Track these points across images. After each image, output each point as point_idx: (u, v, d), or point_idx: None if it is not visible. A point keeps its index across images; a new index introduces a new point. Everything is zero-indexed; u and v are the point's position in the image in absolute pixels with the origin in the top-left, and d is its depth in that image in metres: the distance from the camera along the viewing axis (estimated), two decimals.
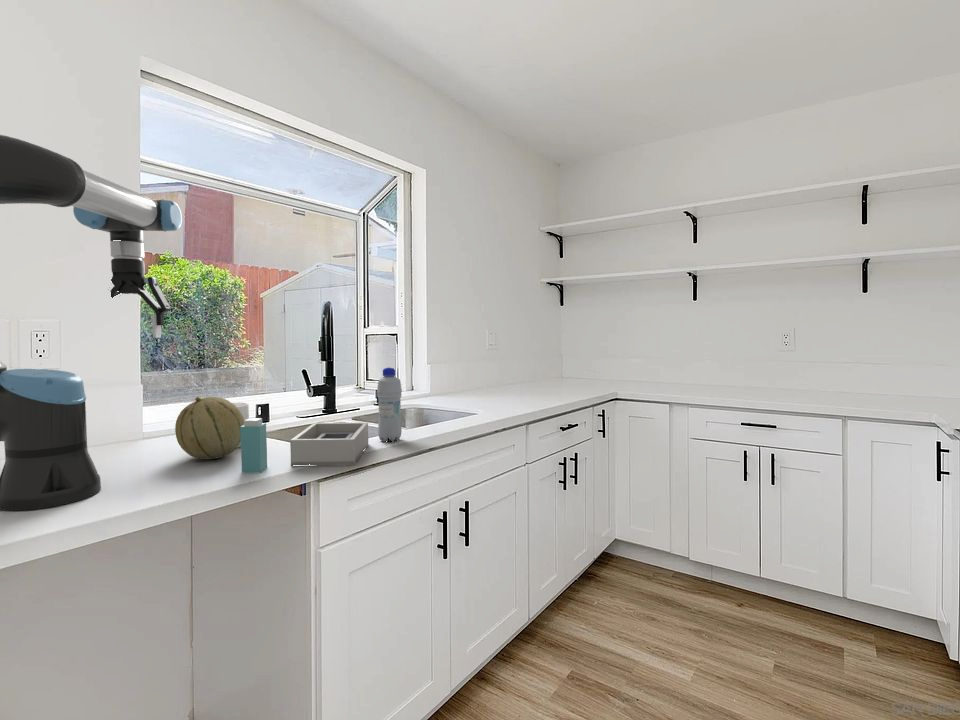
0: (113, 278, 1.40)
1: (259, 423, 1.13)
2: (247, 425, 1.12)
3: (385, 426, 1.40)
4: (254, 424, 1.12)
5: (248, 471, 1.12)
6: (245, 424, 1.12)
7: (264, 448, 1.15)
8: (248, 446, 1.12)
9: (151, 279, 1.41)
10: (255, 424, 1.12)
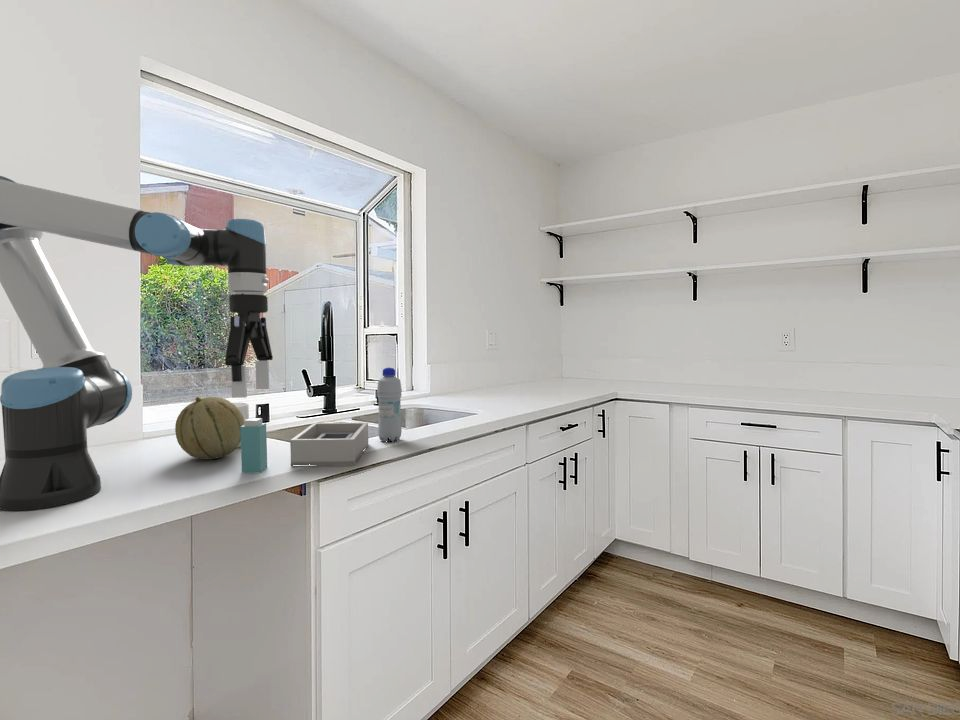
0: None
1: (259, 423, 1.13)
2: (247, 425, 1.12)
3: (385, 426, 1.40)
4: (254, 424, 1.12)
5: (248, 471, 1.12)
6: (245, 424, 1.12)
7: (264, 448, 1.15)
8: (248, 446, 1.12)
9: None
10: (255, 424, 1.12)
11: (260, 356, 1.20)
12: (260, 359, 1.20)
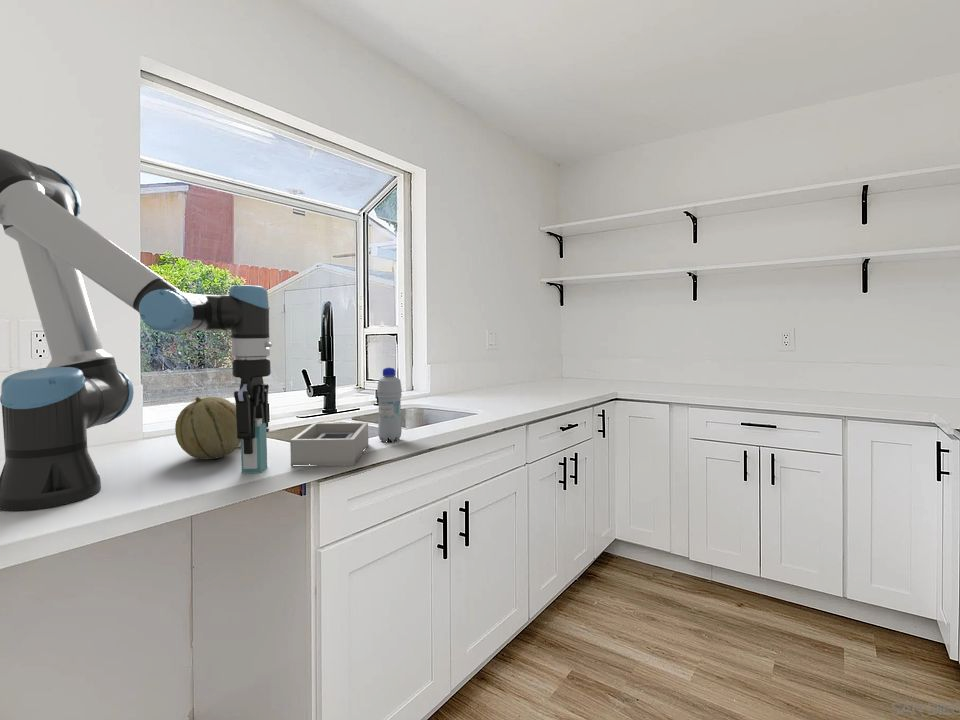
0: None
1: (259, 423, 1.13)
2: None
3: (385, 426, 1.40)
4: None
5: (248, 471, 1.12)
6: None
7: (264, 448, 1.15)
8: None
9: None
10: (255, 424, 1.12)
11: None
12: None
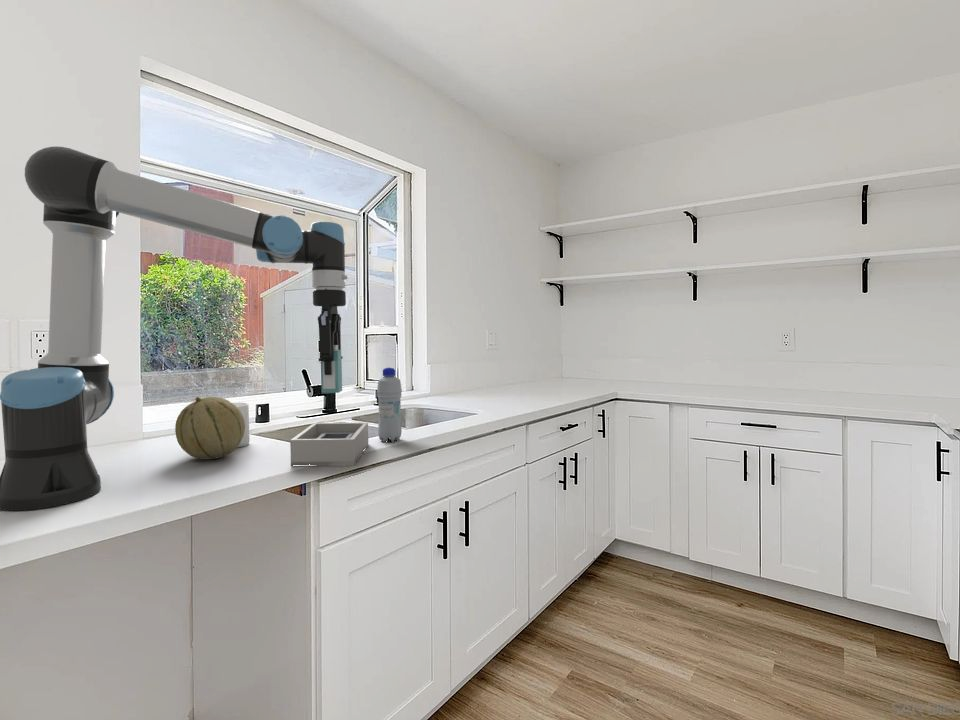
0: None
1: (336, 348, 1.25)
2: None
3: (385, 426, 1.40)
4: None
5: (327, 391, 1.24)
6: None
7: (340, 372, 1.27)
8: None
9: (318, 320, 1.19)
10: None
11: None
12: None
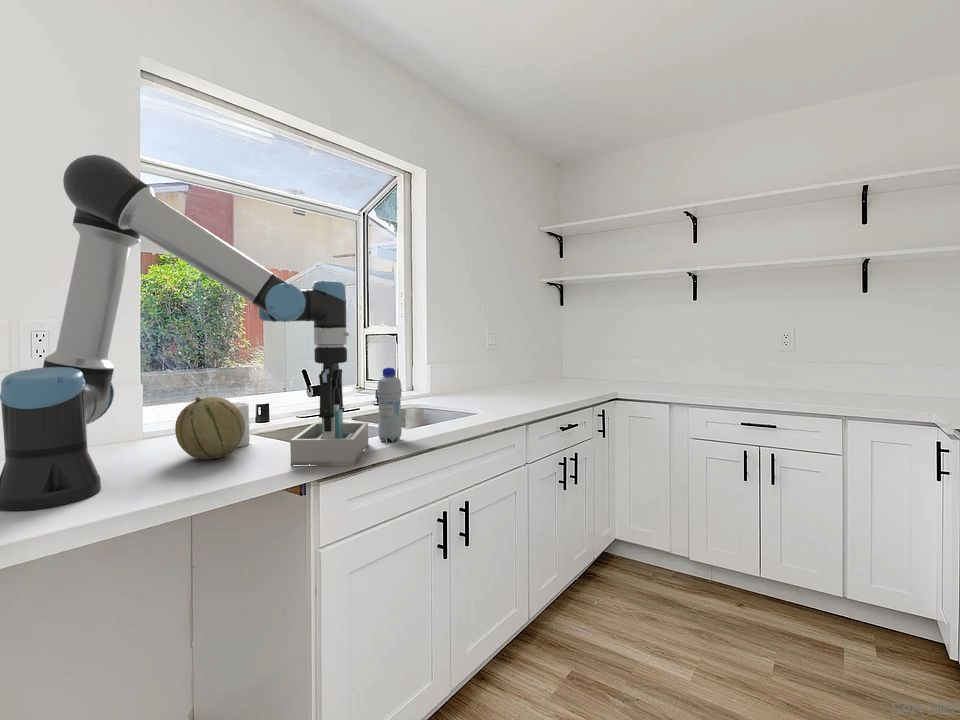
0: None
1: (337, 408, 1.26)
2: None
3: (385, 426, 1.40)
4: (334, 409, 1.25)
5: None
6: None
7: (341, 431, 1.28)
8: None
9: (319, 377, 1.19)
10: (334, 409, 1.25)
11: None
12: None
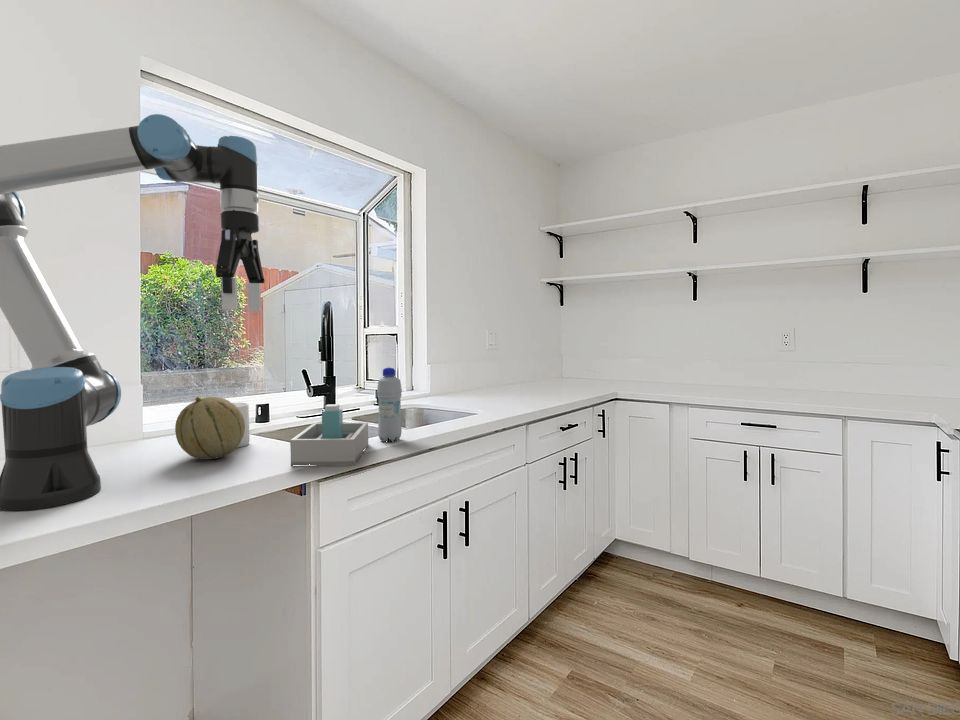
0: None
1: (337, 408, 1.26)
2: (327, 410, 1.25)
3: (385, 426, 1.40)
4: (334, 409, 1.25)
5: None
6: (326, 409, 1.25)
7: (341, 431, 1.28)
8: (328, 429, 1.25)
9: None
10: (334, 409, 1.25)
11: (252, 279, 1.22)
12: (252, 282, 1.22)
